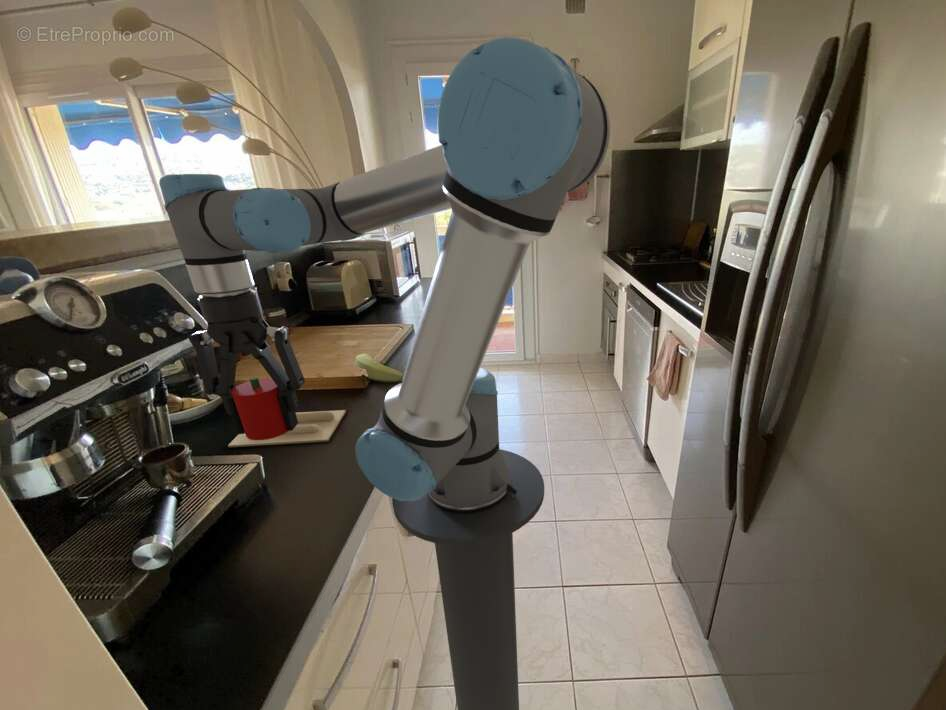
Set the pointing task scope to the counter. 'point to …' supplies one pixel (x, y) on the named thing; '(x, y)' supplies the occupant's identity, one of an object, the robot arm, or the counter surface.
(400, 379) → the banana
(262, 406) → the pepper
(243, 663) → the counter surface
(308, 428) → the cream ridged board
